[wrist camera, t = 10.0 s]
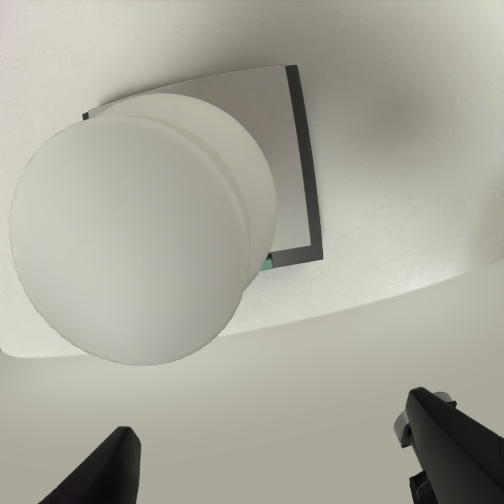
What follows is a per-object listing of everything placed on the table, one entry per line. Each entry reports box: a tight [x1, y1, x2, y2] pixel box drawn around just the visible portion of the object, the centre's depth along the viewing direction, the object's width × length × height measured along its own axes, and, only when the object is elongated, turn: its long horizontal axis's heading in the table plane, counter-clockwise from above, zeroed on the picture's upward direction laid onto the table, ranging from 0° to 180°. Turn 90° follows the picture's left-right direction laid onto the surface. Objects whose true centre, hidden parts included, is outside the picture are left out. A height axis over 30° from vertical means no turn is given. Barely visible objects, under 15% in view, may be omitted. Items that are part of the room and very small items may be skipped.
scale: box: [82, 65, 323, 271], centre depth 16 cm, size 11×12×3 cm
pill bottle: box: [9, 93, 277, 365], centre depth 10 cm, size 6×6×11 cm
